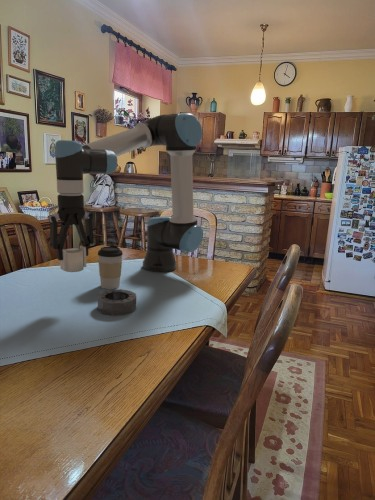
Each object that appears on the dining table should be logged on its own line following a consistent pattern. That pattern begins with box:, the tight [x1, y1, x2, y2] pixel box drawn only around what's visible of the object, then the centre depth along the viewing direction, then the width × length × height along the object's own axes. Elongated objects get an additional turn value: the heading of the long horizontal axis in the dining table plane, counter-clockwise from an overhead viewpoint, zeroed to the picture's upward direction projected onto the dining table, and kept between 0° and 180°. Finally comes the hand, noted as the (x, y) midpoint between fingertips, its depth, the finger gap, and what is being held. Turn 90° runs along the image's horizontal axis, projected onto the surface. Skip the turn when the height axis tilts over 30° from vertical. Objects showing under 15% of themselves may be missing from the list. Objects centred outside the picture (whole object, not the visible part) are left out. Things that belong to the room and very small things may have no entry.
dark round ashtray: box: [97, 288, 137, 316], centre depth 114 cm, size 12×12×4 cm
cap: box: [65, 247, 85, 273], centre depth 112 cm, size 6×6×6 cm
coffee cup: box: [97, 245, 123, 290], centre depth 133 cm, size 9×9×15 cm
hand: (73, 267), depth 112 cm, fingers closed on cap, 6 cm apart
